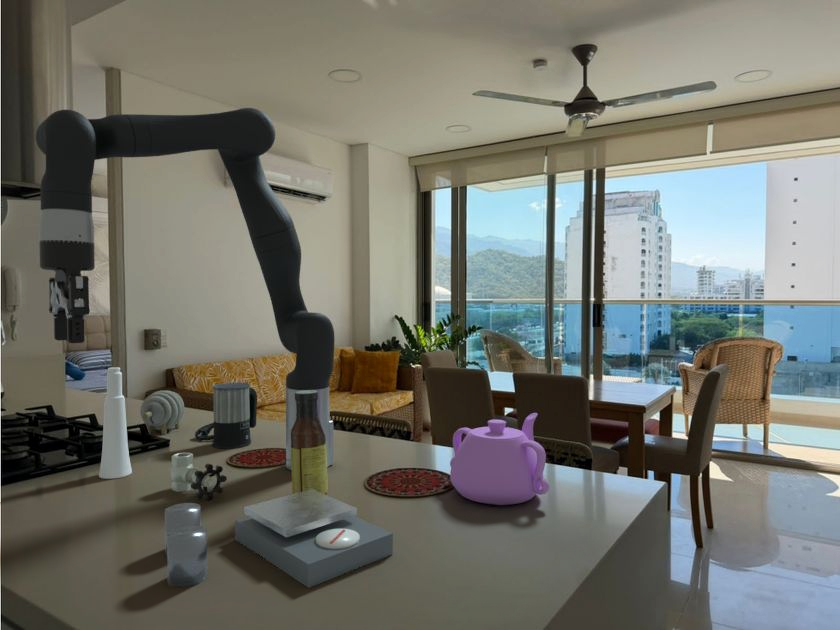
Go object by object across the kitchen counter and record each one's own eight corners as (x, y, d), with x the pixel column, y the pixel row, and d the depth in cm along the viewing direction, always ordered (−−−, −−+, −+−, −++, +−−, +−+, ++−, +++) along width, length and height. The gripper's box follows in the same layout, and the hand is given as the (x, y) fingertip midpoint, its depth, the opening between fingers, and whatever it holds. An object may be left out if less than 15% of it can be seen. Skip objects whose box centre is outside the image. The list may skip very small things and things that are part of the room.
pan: (312, 494, 96) (312, 488, 96) (356, 514, 87) (356, 508, 87) (244, 513, 87) (244, 506, 87) (286, 537, 79) (286, 530, 79)
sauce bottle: (334, 498, 106) (333, 389, 105) (317, 510, 100) (316, 395, 99) (302, 494, 108) (302, 387, 107) (283, 506, 102) (283, 393, 101)
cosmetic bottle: (128, 477, 117) (127, 369, 117) (95, 480, 116) (93, 370, 115) (134, 469, 123) (133, 365, 123) (102, 471, 121) (101, 366, 121)
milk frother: (244, 449, 140) (244, 388, 139) (179, 449, 140) (178, 387, 139) (261, 435, 154) (261, 379, 153) (202, 435, 154) (201, 379, 154)
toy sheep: (193, 424, 166) (192, 386, 166) (169, 439, 149) (168, 396, 149) (155, 424, 166) (155, 386, 166) (127, 439, 149) (126, 396, 149)
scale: (313, 515, 97) (313, 494, 97) (392, 554, 83) (392, 529, 83) (235, 539, 88) (234, 516, 87) (308, 587, 73) (308, 559, 73)
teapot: (584, 490, 110) (585, 418, 110) (520, 523, 95) (521, 438, 94) (490, 467, 125) (490, 403, 125) (421, 492, 110) (422, 419, 109)
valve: (160, 491, 110) (193, 505, 102) (160, 456, 110) (193, 468, 102) (193, 482, 115) (227, 496, 107) (192, 449, 115) (226, 460, 107)
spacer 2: (198, 566, 79) (197, 522, 79) (213, 578, 76) (213, 533, 75) (161, 578, 76) (161, 532, 75) (176, 591, 72) (175, 543, 72)
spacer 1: (192, 539, 88) (192, 500, 87) (206, 550, 84) (206, 508, 84) (160, 549, 84) (159, 508, 84) (172, 560, 81) (172, 517, 81)
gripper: (106, 239, 91) (107, 343, 91) (81, 244, 101) (83, 338, 101) (50, 235, 85) (52, 345, 86) (30, 241, 96) (32, 340, 96)
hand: (68, 341), depth 94 cm, fingers open, 8 cm apart
